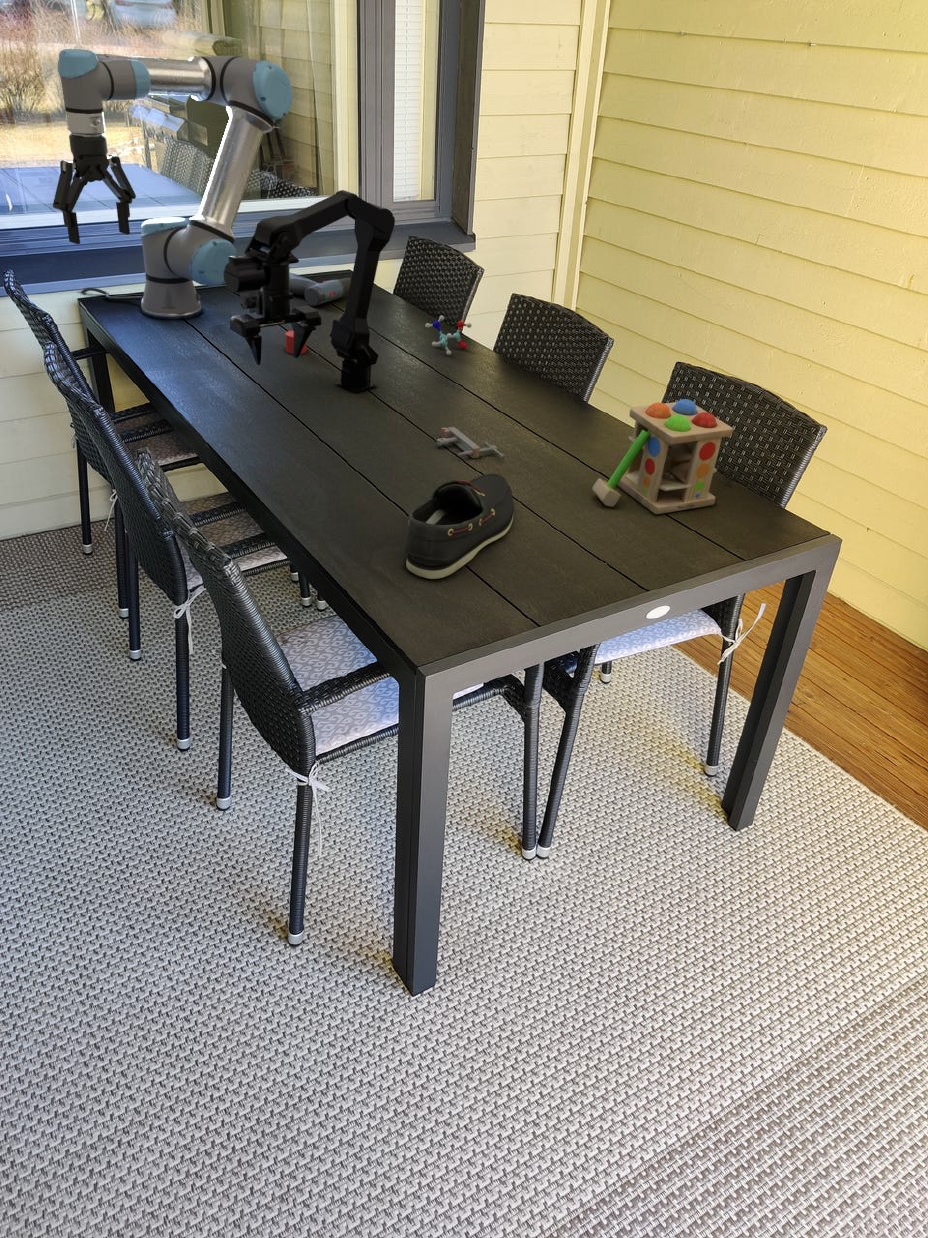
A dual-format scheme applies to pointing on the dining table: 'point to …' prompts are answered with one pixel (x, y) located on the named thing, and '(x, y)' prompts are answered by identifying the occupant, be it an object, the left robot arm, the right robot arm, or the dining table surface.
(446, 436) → the clamp
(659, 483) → the pounding bench toy
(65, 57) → the left robot arm
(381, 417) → the dining table surface
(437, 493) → the boat shoe
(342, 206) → the right robot arm
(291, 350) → the canister
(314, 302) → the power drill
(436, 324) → the molecular model
